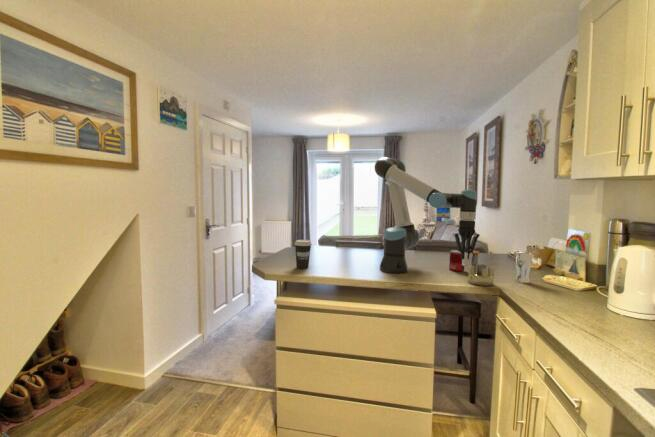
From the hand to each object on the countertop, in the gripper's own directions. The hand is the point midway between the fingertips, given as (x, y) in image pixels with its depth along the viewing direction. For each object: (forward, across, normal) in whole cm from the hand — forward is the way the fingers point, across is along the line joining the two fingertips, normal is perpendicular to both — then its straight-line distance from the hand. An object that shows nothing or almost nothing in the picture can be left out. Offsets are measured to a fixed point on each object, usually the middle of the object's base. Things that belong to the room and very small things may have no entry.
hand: (464, 265), depth 169 cm
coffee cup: (+7, -85, +12) cm, 86 cm away
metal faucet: (+6, +4, -7) cm, 10 cm away
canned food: (+7, +3, +16) cm, 18 cm away
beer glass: (+7, +28, -5) cm, 29 cm away
